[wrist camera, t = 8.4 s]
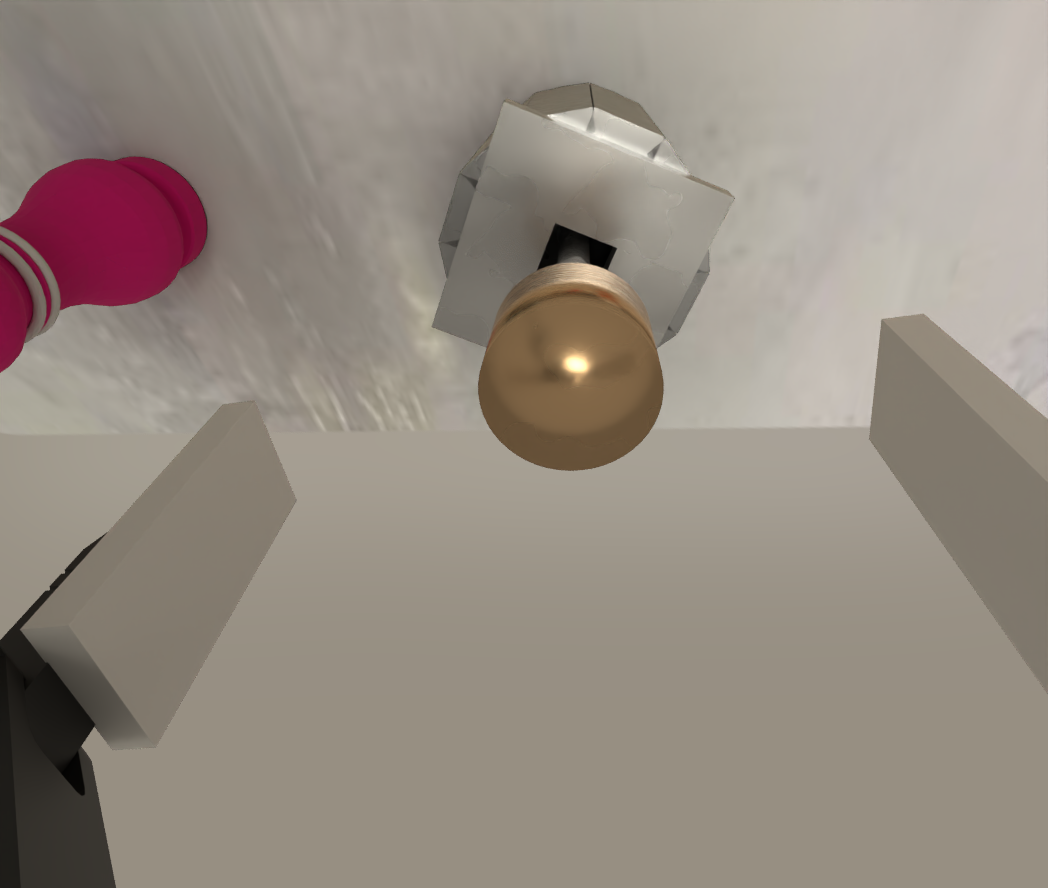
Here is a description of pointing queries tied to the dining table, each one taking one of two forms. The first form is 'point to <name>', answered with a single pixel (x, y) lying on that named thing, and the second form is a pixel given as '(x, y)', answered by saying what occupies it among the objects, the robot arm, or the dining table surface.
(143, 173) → the pepper mill
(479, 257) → the faceted grey canister
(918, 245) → the dining table surface
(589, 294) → the plunger
